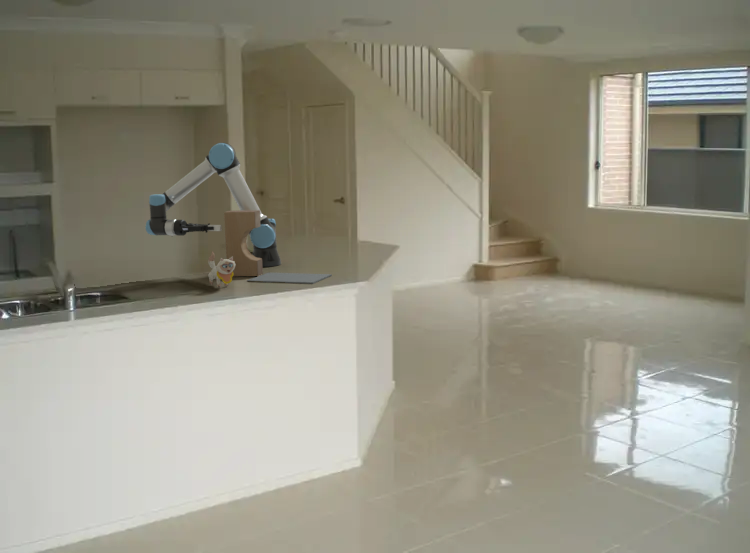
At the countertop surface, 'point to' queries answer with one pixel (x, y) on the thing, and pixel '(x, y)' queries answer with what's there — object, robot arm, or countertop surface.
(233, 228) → the decorative block
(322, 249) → the countertop surface
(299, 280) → the mat
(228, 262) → the toy
